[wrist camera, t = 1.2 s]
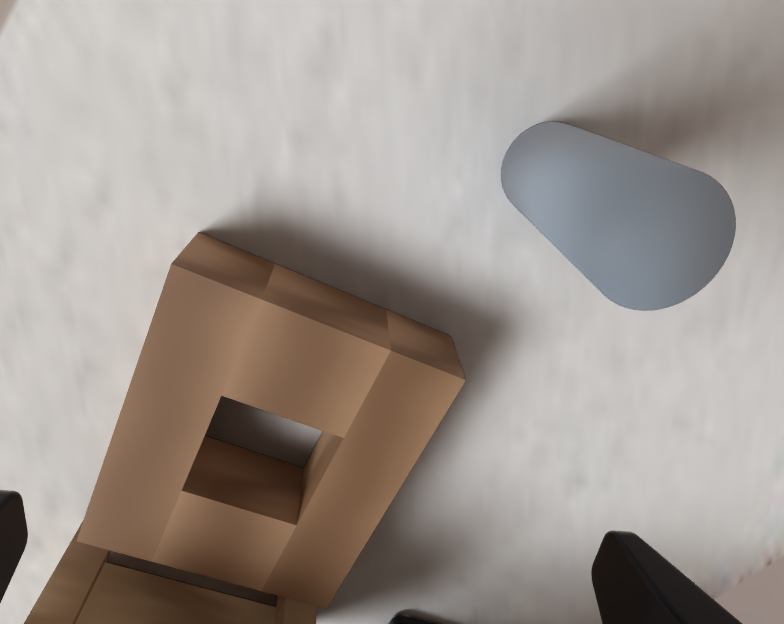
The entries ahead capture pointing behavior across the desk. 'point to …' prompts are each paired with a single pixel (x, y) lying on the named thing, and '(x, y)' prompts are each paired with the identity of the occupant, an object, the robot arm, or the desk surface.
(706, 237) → the peg
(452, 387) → the socket station
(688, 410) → the desk surface
